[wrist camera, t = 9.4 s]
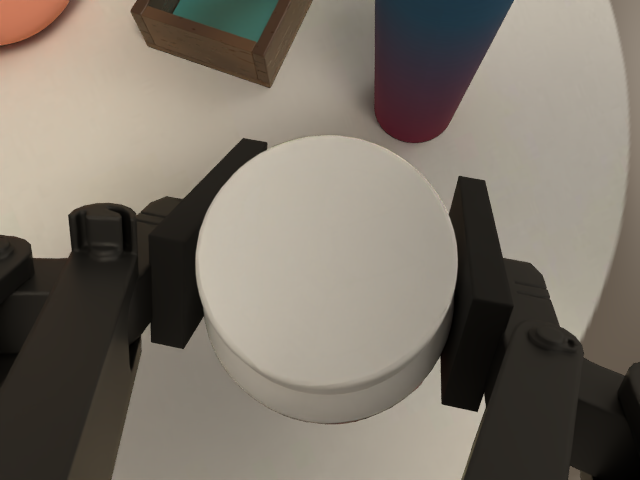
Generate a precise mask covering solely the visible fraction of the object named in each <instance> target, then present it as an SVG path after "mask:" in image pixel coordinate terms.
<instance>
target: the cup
mask: <svg viewBox="0 0 640 480" xmlns="http://www.w3.org/2000/svg"><path fill="white" fill-rule="evenodd" d="M513 1H514V0H375V81H374V109H375V115H376V118H377V121H378V123H379V124H380V126H381V127H382V128H383V129H384V130H385V132H386V133H388V134H389V135H391V136H392V137H394V138H396V139H398V140H400V141H404V142H410V143H419V142H425V141H429V140H431V139H433V138H435V137H437V136H439V135H440V134H441V133H442V132H443V131H444V130H445V129H446V128H447V127H448V125H449V123H450V121H451V119H452V117H453V115H454V113H455V111H456V109H457V108H458V106H459V104H460V102H461V100H462V98H463V96H464V94H465V92H466V90H467V88H468V87H469V85H470V83H471V81H472V79H473V77H474V75H475V73H476V71H477V69H478V68H479V66H480V64H481V62H482V60H483V58H484V56H485V54H486V52H487V50H488V49H489V47H490V45H491V43H492V41H493V39H494V37H495V35H496V33H497V31H498V30H499V28H500V26H501V24H502V22H503V20H504V18H505V16H506V14H507V12H508V11H509V9H510V7H511V5H512V3H513Z"/></svg>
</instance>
